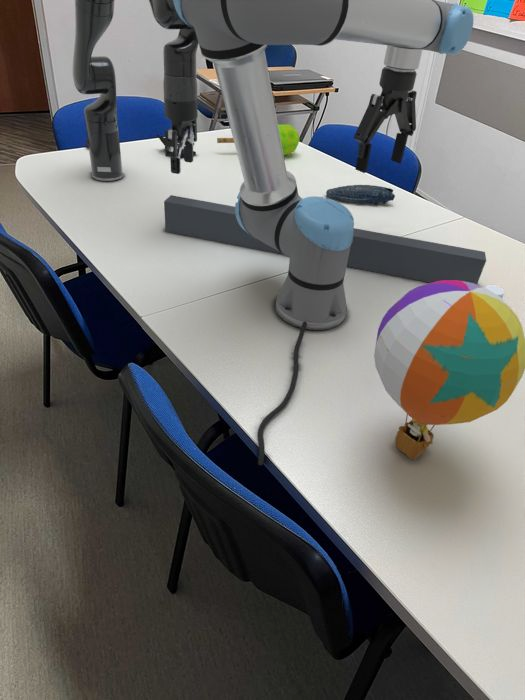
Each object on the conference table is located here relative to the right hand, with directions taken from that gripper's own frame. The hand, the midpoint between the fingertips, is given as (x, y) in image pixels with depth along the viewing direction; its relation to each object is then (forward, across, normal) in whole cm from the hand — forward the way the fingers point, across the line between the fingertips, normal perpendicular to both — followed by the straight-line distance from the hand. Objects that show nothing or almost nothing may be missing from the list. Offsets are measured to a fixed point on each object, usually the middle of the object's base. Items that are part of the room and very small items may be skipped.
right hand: (378, 166), depth 126 cm
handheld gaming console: (+21, +3, -84) cm, 87 cm away
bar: (+21, +15, -3) cm, 26 cm away
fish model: (+21, -22, -20) cm, 37 cm away
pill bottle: (+21, +6, +40) cm, 45 cm away
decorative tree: (+21, -22, -69) cm, 75 cm away
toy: (+21, +49, +52) cm, 74 cm away
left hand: (+4, +35, -32) cm, 48 cm away
